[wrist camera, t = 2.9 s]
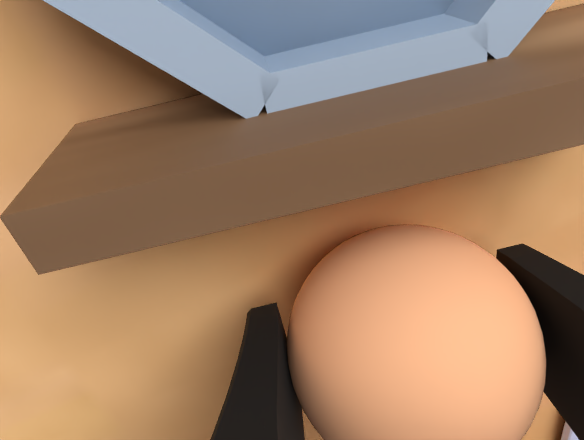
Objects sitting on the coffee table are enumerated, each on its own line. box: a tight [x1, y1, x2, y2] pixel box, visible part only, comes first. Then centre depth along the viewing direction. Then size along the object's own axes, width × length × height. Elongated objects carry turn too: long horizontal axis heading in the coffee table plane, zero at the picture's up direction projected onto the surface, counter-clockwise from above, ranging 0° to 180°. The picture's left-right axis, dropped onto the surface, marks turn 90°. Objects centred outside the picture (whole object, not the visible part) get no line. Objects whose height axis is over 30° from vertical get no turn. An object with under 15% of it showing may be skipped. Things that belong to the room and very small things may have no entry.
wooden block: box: [0, 4, 584, 275], centre depth 7 cm, size 1×11×4 cm, turn 101°
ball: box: [287, 225, 546, 440], centre depth 9 cm, size 5×5×5 cm
